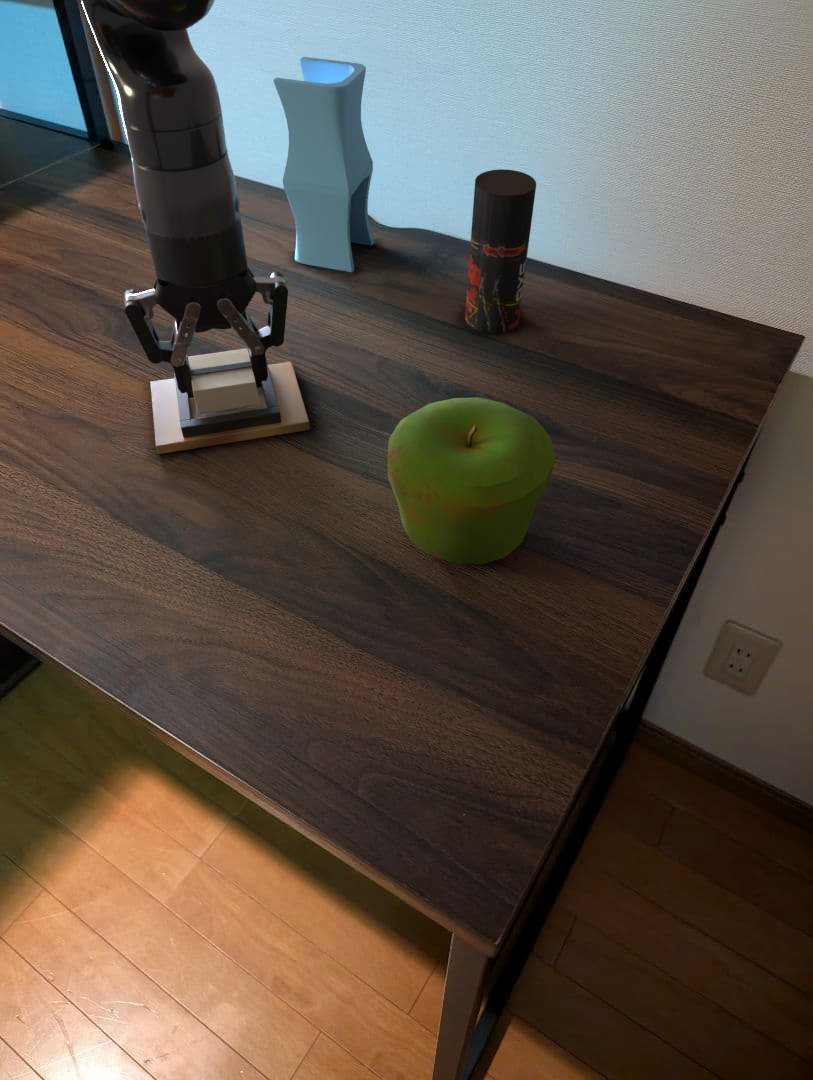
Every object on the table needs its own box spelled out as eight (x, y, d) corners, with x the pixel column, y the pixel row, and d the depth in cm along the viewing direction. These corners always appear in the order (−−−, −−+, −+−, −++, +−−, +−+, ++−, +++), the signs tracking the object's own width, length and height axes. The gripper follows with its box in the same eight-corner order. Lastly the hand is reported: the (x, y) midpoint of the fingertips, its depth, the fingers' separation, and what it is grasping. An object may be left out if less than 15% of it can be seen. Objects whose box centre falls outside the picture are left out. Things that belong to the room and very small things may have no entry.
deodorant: (516, 336, 86) (534, 198, 75) (461, 330, 86) (471, 192, 75) (520, 307, 90) (538, 172, 79) (468, 301, 90) (478, 167, 79)
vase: (316, 232, 101) (302, 56, 87) (374, 242, 100) (370, 64, 85) (291, 261, 96) (272, 79, 81) (352, 272, 95) (343, 88, 80)
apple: (530, 480, 70) (548, 374, 62) (547, 587, 62) (570, 481, 54) (389, 479, 70) (388, 373, 62) (387, 586, 62) (385, 480, 54)
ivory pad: (198, 414, 73) (192, 390, 71) (193, 379, 76) (187, 355, 74) (259, 405, 74) (255, 381, 72) (251, 370, 77) (247, 346, 75)
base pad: (158, 454, 72) (152, 435, 71) (152, 389, 79) (147, 371, 77) (310, 430, 75) (308, 411, 73) (292, 369, 81) (290, 351, 80)
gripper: (274, 182, 66) (293, 355, 79) (95, 200, 63) (144, 376, 76) (289, 223, 61) (307, 400, 74) (96, 244, 59) (148, 424, 71)
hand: (224, 387), depth 75 cm, fingers closed on ivory pad, 5 cm apart
